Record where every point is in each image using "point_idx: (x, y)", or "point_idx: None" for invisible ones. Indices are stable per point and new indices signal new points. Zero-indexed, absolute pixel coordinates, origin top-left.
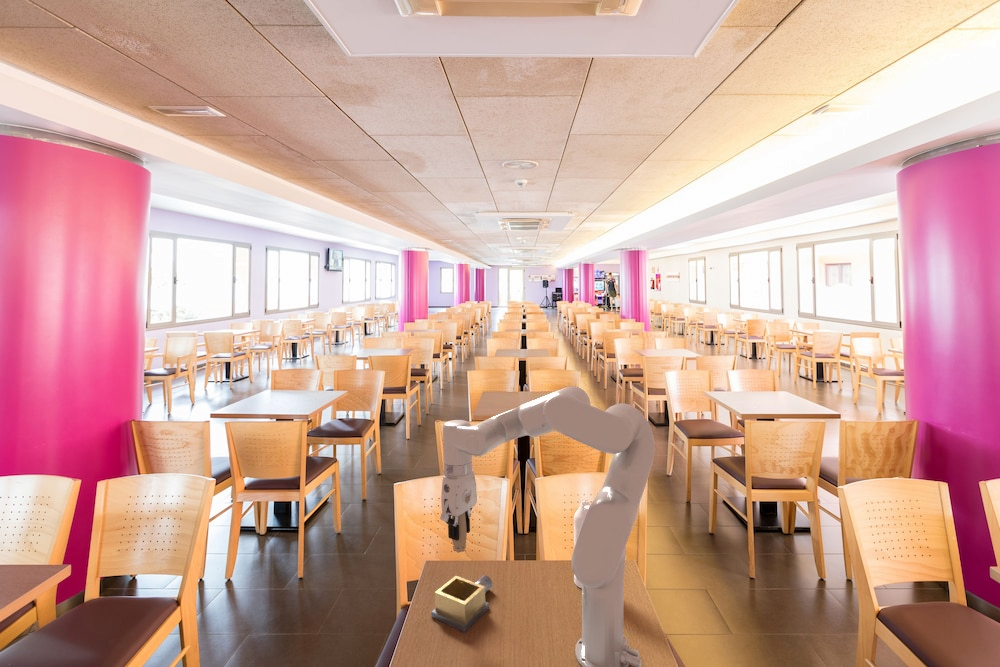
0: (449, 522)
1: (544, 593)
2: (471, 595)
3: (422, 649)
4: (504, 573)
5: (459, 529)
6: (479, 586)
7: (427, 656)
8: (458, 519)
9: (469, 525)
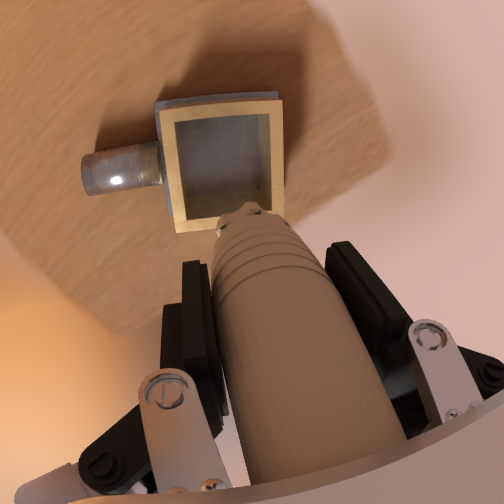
0: (493, 358)
1: (19, 44)
2: (230, 113)
3: (366, 139)
4: (21, 184)
5: (340, 298)
6: (171, 126)
7: (376, 117)
8: (380, 381)
9: (188, 299)
